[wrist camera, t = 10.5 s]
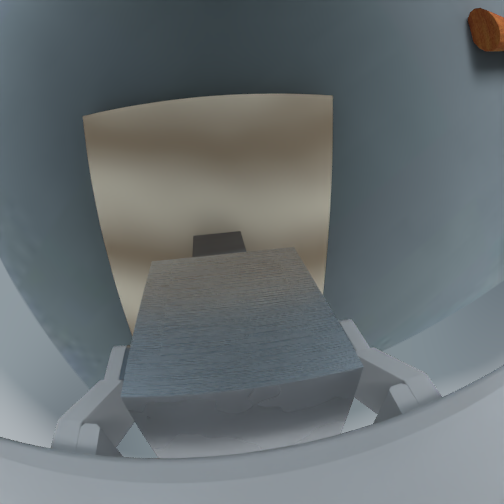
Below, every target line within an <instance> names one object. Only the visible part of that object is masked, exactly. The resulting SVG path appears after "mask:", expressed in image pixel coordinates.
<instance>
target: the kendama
mask: <svg viewBox="0 0 504 504" xmlns="http://www.w3.org/2000/svg"><path fill="white" fill-rule="evenodd" d="M468 23H469V26H470V30H471V34H472V38H473V42H474V43H475V44H476V45H477V46H478V47H479V48H480V49H482V50H484V51H504V18H503V17H501V16H499V15H496V14H494V13H492V12H489V11H487V10H484V9H482V8H477V9H474V10H473V11H471V12H470V14H469V17H468Z"/></svg>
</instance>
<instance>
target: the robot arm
mask: <svg viewBox="0 0 504 504" xmlns="http://www.w3.org/2000/svg"><path fill="white" fill-rule="evenodd" d="M338 322H339V324H340V325H341V327H342V329H343V331H344V332H345V334H346V336H347V338H348V339H349V341H350V343H351V345H352V346H353V348H354V350H355V352H356V354H357V355H358V357H359V359H360V361H361V362H362V364H363V366H364V368H363V371H362V374H361V377H360V381H359V384H358V387H357V390H356V393H355V396H354V397H355V398H356V399H358V400H359V401H360V402H362V403H363V404H364V405H366V406H367V407H368V408H370V409H371V410H372V411H374V412H375V413H377V414H378V415H377V417H376V419H375V421H374V423H373V424H372V425H369V426H366V427H363V428H360V429H356V430H353V431H349V432H346V433H342V434H338V435H334V436H331V437H327V438H323V439H318V440H314V441H310V442H305V443H301V444H296V445H291V446H285V447H280V448H274V449H268V450H262V451H255V452H247V453H239V454H231V455H220V456H208V457H191V458H129V457H123V456H122V455H121V454H120V452H119V451H118V450H117V449H116V447H117V446H118V444H119V443H120V442H121V440H122V439H123V437H124V436H125V435H126V433H127V432H128V430H129V429H130V428H131V426H132V425H133V423H134V422H135V421H134V419H133V418H132V416H131V414H130V413H129V411H128V409H127V408H126V406H125V404H124V402H123V401H122V399H121V392H122V386H123V381H124V376H125V370H126V365H127V360H128V356H129V351H130V346H131V345H127V346H114V347H113V348H112V350H111V354H110V358H109V361H108V365H107V369H106V373H105V377H104V380H100V381H98V382H97V383H96V384H95V385H94V386H93V387H92V388H91V389H90V390H89V391H88V392H87V393H86V394H85V395H84V396H82V397H81V398H80V399H79V400H78V401H77V402H76V403H75V404H74V405H73V406H72V407H71V408H70V409H69V410H68V411H67V412H66V413H64V414H63V415H62V416H61V417H60V418H59V419H58V422H57V426H56V429H55V433H54V437H53V441H52V445H51V448H45V447H40V446H35V445H31V444H26V443H22V442H18V441H14V440H10V439H6V438H3V437H0V504H504V365H503V366H501V367H499V368H498V369H496V370H494V371H493V372H491V373H489V374H487V375H485V376H484V377H482V378H480V379H478V380H476V381H474V382H472V383H471V384H469V385H467V386H465V387H463V388H461V389H459V390H457V391H455V392H452V393H450V394H449V395H446V396H444V397H442V396H441V394H440V393H439V391H438V390H437V389H436V387H435V385H434V384H433V382H432V381H431V379H430V378H429V377H428V375H427V374H426V373H424V372H422V371H420V370H418V369H416V368H414V367H412V366H410V365H408V364H406V363H404V362H402V361H400V360H398V359H396V358H394V357H392V356H390V355H388V354H386V353H384V352H382V351H380V350H378V349H376V348H374V347H373V348H370V347H369V345H368V344H367V342H366V341H365V339H364V337H363V336H362V334H361V333H360V331H359V330H358V328H357V326H356V325H355V323H354V322H353V320H351V319H347V320H342V321H338Z"/></svg>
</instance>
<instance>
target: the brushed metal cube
mask: <svg viewBox="0 0 504 504" xmlns="http://www.w3.org/2000/svg"><path fill="white" fill-rule="evenodd" d="M363 368H364V366H363V364H362V362H361V361H360V359H359V357H358V355H357V354H356V352H355V350H354V348H353V346H352V345H351V343H350V341H349V339H348V338H347V336H346V334H345V332H344V331H343V329H342V327H341V325H340V324H339V322H338V320H337V318H336V317H335V315H334V313H333V312H332V310H331V308H330V306H329V305H328V303H327V301H326V300H325V298H324V296H323V295H322V293H321V291H320V289H319V288H318V286H317V284H316V283H315V281H314V279H313V278H312V276H311V274H310V273H309V271H308V269H307V268H306V266H305V264H304V263H303V261H302V259H301V258H300V256H299V255H298V253H297V251H296V250H295V248H294V247H288V248H278V249H268V250H259V251H249V252H239V253H229V254H220V255H210V256H200V257H190V258H181V259H171V260H161V261H152V263H151V266H150V270H149V274H148V277H147V281H146V285H145V288H144V292H143V296H142V300H141V304H140V308H139V312H138V316H137V320H136V324H135V328H134V333H133V337H132V342H131V346H130V351H129V356H128V360H127V365H126V370H125V376H124V381H123V386H122V392H121V399H122V401H123V402H124V404H125V406H126V408H127V409H128V411H129V413H130V414H131V416H132V418H133V419H134V421H135V423H136V424H137V426H138V427H139V429H140V431H141V432H142V434H143V435H144V437H145V438H146V440H147V441H148V443H149V445H150V446H151V447H152V449H153V451H154V452H155V453H156V455H157V456H158V458H191V457H208V456H220V455H231V454H239V453H247V452H255V451H262V450H268V449H274V448H280V447H285V446H291V445H296V444H301V443H305V442H310V441H314V440H318V439H323V438H327V437H331V436H334V435H338V434H341V431H342V429H343V426H344V424H345V421H346V418H347V415H348V413H349V410H350V407H351V404H352V402H353V399H354V396H355V393H356V390H357V387H358V384H359V381H360V377H361V374H362V371H363Z"/></svg>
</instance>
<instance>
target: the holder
mask: <svg viewBox="0 0 504 504" xmlns="http://www.w3.org/2000/svg"><path fill="white" fill-rule="evenodd" d="M83 124H84V133H85V141H86V149H87V156H88V163H89V169H90V175H91V181H92V187H93V192H94V197H95V203H96V207H97V212H98V217H99V222H100V226H101V230H102V235H103V239H104V243H105V247H106V251H107V255H108V259H109V262H110V266H111V270H112V273H113V277H114V280H115V284H116V287H117V291H118V294H119V297H120V300H121V303H122V307H123V310H124V313H125V316H126V319H127V322H128V325H129V328H130V330H131V333H132V336H133V333H134V328H135V324H136V320H137V316H138V312H139V308H140V304H141V300H142V296H143V292H144V288H145V285H146V281H147V277H148V274H149V270H150V266H151V263H152V261H161V260H171V259H181V258H190V257H200V256H210V255H220V254H229V253H239V252H249V251H259V250H268V249H278V248H288V247H294V248H295V250H296V251H297V253H298V255H299V256H300V258H301V259H302V261H303V263H304V264H305V266H306V268H307V269H308V271H309V273H310V274H311V276H312V278H313V279H314V281H315V283H316V284H317V286H318V288H319V289H320V291H321V293H322V295H323V289H324V279H325V269H326V258H327V246H328V233H329V218H330V201H331V180H332V148H333V96H332V95H314V94H237V95H219V96H206V97H195V98H185V99H176V100H168V101H161V102H154V103H147V104H141V105H135V106H129V107H123V108H118V109H113V110H108V111H103V112H99V113H94V114H90V115H86V116H83Z"/></svg>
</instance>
